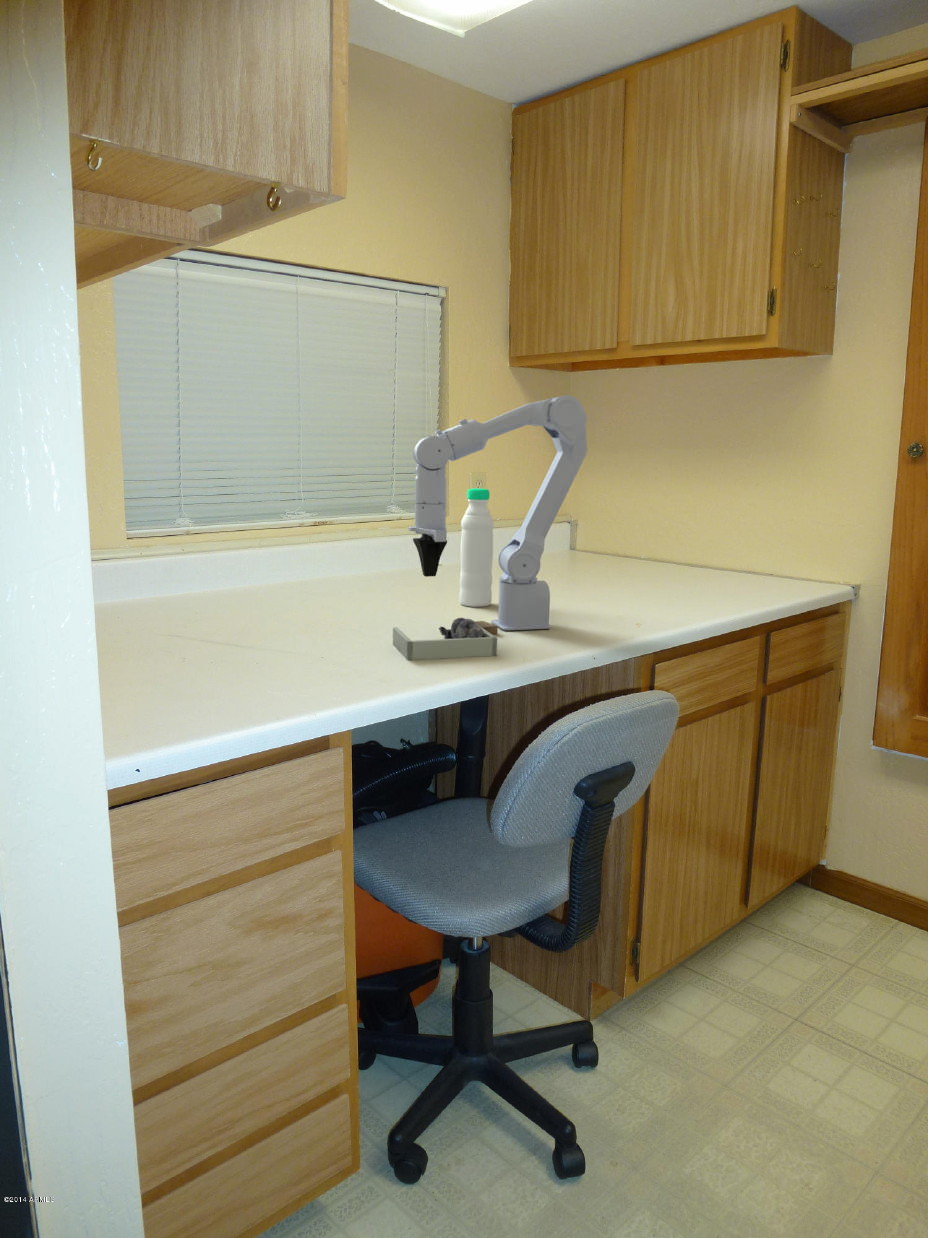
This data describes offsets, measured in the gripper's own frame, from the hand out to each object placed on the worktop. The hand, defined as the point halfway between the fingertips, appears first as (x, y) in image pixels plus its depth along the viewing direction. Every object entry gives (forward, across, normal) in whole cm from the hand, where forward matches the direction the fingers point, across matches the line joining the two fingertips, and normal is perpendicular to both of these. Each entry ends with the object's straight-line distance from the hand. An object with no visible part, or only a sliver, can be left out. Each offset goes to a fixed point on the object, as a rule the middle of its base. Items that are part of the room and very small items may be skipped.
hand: (429, 575), depth 162 cm
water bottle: (+10, -20, +16) cm, 28 cm away
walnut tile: (+10, +7, +8) cm, 14 cm away
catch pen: (+10, +18, -2) cm, 21 cm away
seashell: (+7, +12, 0) cm, 14 cm away
